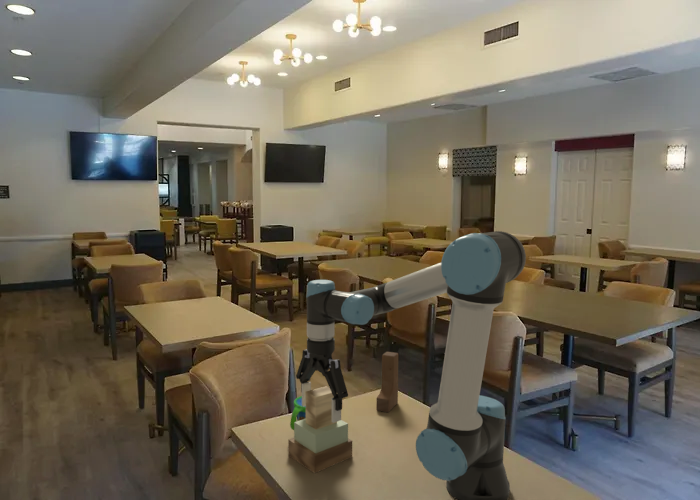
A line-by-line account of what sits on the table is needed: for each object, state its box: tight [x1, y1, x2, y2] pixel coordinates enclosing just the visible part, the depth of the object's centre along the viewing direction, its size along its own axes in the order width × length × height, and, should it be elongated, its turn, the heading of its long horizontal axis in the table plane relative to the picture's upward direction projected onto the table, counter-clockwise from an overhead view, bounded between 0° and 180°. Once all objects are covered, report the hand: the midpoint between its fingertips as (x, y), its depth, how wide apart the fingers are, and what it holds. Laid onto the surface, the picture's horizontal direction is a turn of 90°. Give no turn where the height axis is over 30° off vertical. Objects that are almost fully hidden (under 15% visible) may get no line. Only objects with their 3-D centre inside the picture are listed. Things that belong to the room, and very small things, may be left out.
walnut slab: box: [287, 437, 353, 474], centre depth 145 cm, size 12×13×5 cm
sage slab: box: [293, 419, 349, 453], centre depth 144 cm, size 10×11×5 cm
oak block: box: [305, 385, 337, 430], centre depth 143 cm, size 5×7×9 cm
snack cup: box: [289, 395, 306, 431], centre depth 158 cm, size 16×10×10 cm
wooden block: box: [375, 351, 399, 413], centre depth 178 cm, size 9×4×18 cm, turn 154°
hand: (320, 412), depth 144 cm, fingers open, 13 cm apart
